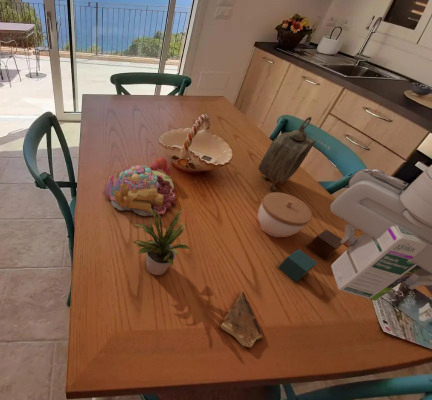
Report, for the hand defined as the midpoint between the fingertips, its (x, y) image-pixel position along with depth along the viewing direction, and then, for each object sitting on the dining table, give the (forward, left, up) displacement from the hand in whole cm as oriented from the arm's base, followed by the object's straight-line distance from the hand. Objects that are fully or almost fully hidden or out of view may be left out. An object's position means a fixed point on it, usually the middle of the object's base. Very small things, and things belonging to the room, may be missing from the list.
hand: (374, 263), depth 45 cm
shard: (+8, +13, -23) cm, 28 cm away
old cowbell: (+36, -41, -23) cm, 59 cm away
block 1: (+9, -11, -23) cm, 27 cm away
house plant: (+29, +19, -23) cm, 42 cm away
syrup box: (0, 0, -6) cm, 6 cm away
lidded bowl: (+21, -20, -23) cm, 37 cm away
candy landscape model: (+54, +6, -23) cm, 59 cm away
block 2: (+9, -25, -23) cm, 35 cm away
